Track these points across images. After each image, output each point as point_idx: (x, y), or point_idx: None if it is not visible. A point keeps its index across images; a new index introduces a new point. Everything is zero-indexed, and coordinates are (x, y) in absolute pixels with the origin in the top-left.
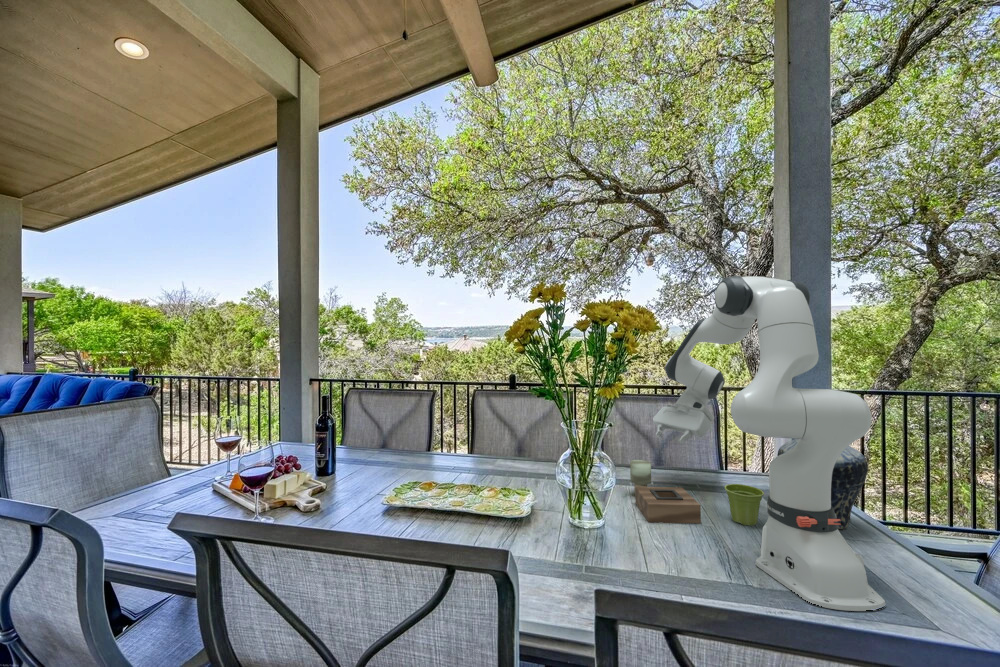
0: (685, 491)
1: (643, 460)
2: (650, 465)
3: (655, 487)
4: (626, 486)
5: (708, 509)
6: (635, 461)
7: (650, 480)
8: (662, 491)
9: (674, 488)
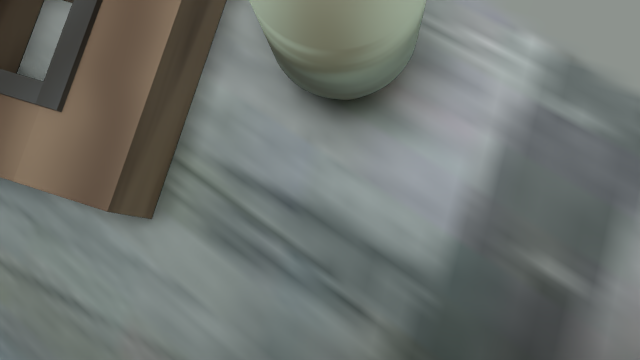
0: (31, 181)
1: (396, 21)
2: (263, 22)
3: (161, 30)
4: (523, 55)
5: (38, 313)
6: None
7: (280, 63)
8: (69, 24)
9: (104, 146)
